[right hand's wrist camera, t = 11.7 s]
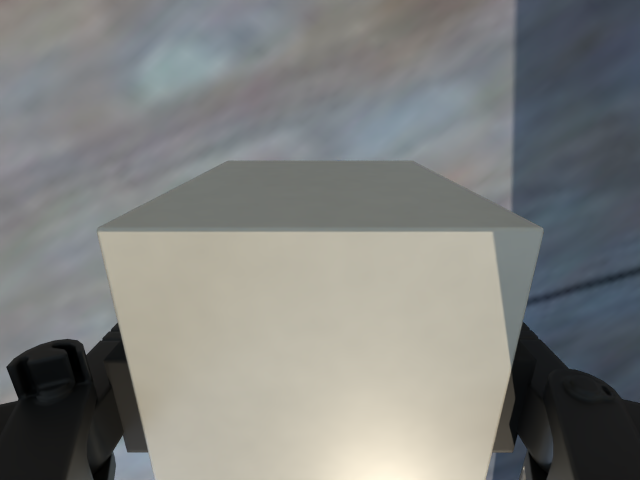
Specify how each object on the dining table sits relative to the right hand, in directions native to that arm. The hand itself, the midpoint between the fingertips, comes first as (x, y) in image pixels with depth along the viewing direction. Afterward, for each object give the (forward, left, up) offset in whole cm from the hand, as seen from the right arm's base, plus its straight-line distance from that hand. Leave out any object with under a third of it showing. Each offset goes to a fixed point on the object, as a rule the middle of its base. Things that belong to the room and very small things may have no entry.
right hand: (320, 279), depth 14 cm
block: (0, 0, -2) cm, 2 cm away
